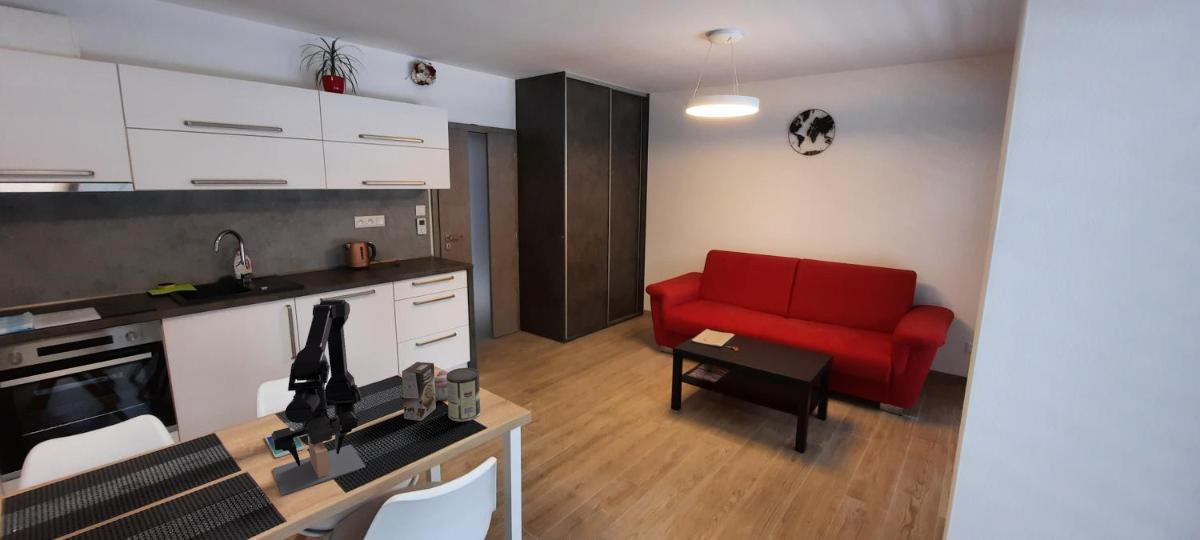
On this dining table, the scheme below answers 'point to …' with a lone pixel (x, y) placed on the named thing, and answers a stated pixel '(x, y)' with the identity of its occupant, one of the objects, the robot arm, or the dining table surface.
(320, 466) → the block
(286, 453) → the smartphone
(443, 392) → the cupcake
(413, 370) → the coffee box
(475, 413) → the coffee can
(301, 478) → the mat
